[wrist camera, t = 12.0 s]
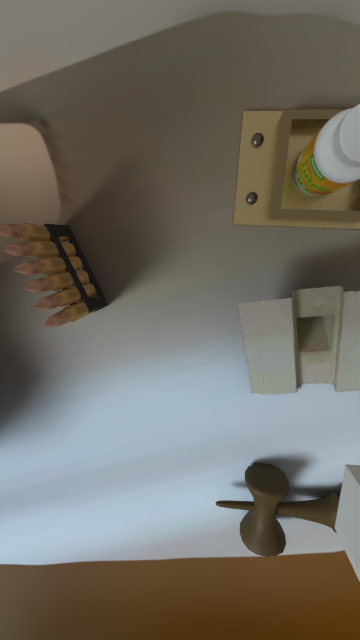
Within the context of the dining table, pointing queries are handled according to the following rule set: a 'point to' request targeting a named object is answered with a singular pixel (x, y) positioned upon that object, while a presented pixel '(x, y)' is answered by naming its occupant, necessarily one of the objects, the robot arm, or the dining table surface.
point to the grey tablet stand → (303, 340)
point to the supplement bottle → (331, 155)
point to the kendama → (276, 510)
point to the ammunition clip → (56, 270)
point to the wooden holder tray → (286, 174)
